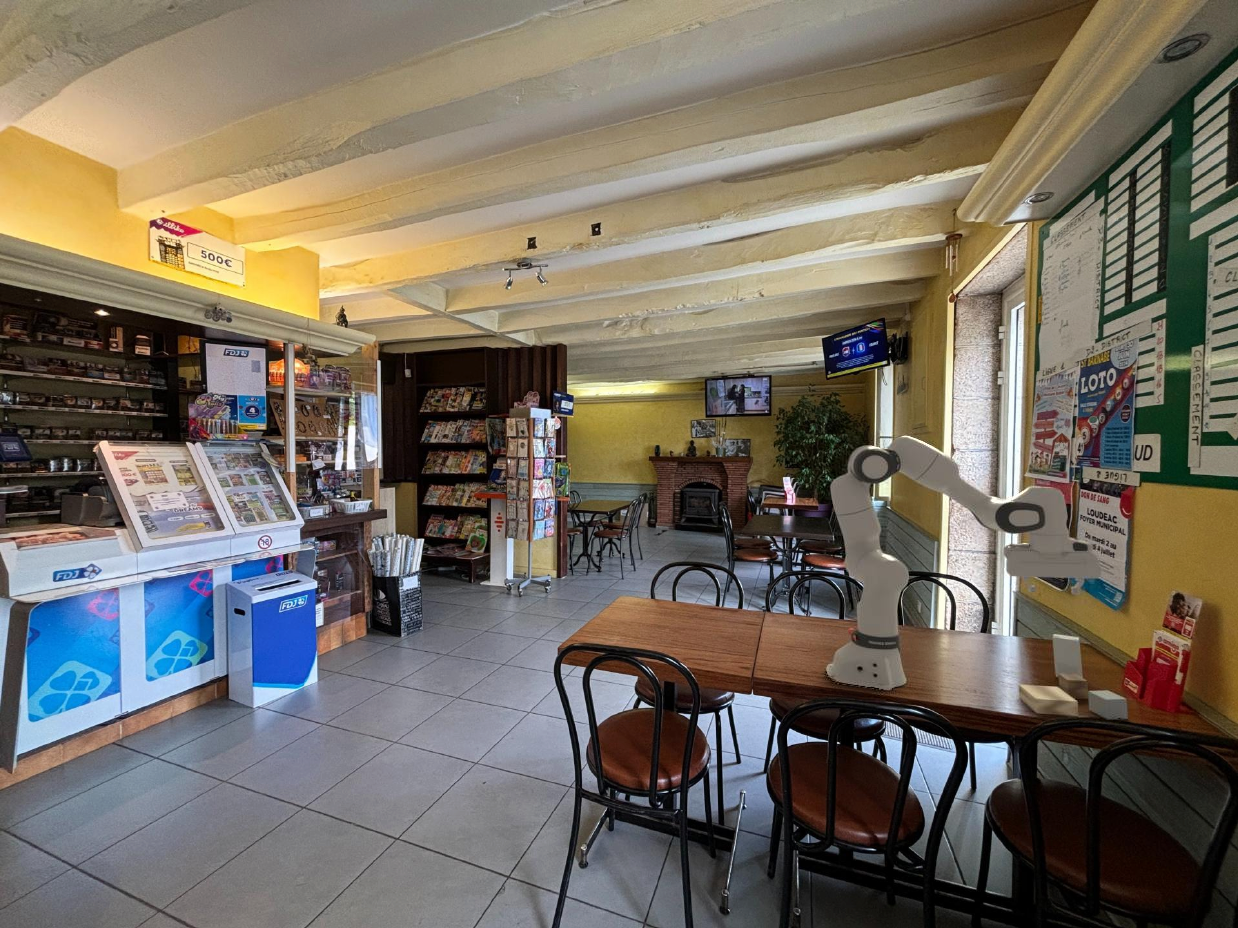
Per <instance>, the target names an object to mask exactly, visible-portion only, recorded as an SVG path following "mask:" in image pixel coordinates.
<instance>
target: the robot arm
mask: <svg viewBox="0 0 1238 928" xmlns="http://www.w3.org/2000/svg"><path fill="white" fill-rule="evenodd" d="M845 467H846V468H845V471H844V473H845V474H843V475H840V476H838V477H836V478H834V480H832V482H831V484H830V495H831V500H832V504H833V509H834V512H835V515H836V518H837V521H838V524H839V527H840V531H841V534H842V537H843V541H844V548H845V549H844V551H845V558H844V567H845V569H846V572H847V573H848V574H849V575H850V576H851V577H852V578H853V579H854V580H856V581H858V582H859V583H862V586H863V588H862V594H861V598H860V601H858V602H857V605H856V614H857V615H856V617H857V628H856V629H854V628H852V627H848V629H847V633H848V635H849V636H850V639H851V641H849V642H848V643H846V644H845V645H844V646H842V647H840V648H839V649H837V650H836V651H835V653H834V656H833V661H832V663H828V665H826V667H825V668H826V669H825V672H826V671H827V674H828V675H829V676H830V677H831V676H834V677H831V678H833V679H835V680H836V681H839V682H842V683H848V684H853V685H859V686H858V687H860V686H865V687H864V688H867V687H875V688H879V689H878V690H881V689H883V690H882V691H891V690H892V688H893V689H894V688H895V687H901V686H903V685H906V683H907V678H906V675H905V672H904V668H903V664H902V660H901V648H902V647H901V645H902V644H901V636H900V633H899V627H898V605H899V600H900V596H901V592H902V591H903V590H904V589H905V587H906V586H907V585H908V583H909V579H910V575H909V573H910V572H909V570H908V567H907V566H906V565H905V563H903V562H902V561H901V560H899V559H898V558H896V557H895V556H893V555H890V554H887V553H884V552H883V550H882V549H881V544H880V534H881V532H882V527H881V523H880V521H879V518H878V515H877V512H876V511H877V510H876V509H875V505H874V502H873V500H872V498H871V493H870V488H871V485H876V484H881V483H884V482H886V481H887V480H888V479H889V478H891V477H893V476H894V475H895V474H897V473H898V472H899V473H900V474H902V475H904V476H907V477H908V478H909V479H911V480H912V481H913V482H916V483H917V484H919V485H921V486H923V487H925V488H927V489H930V490H932V491H933V492H936V493H937V492H938V493H941V494H943V495H946V496H947V497H949V498H951V500H953V501H955V502H956V503H958V504H959V505H961V506H962V507H964V508H965V509H967V510H968V511H969V512H970V513H971V514H972V515H973V517H974V518H975V519H976V521H977V522H978V523H979V525H980V526H982V527H984V528H986V529H987V530H991V531H999V532H1002V533H1005V534H1011V535H1018V534H1022V533H1027V537H1028V543H1009V544H1007V545H1005V546H1004V548H1003V556H1004V557H1005V559H1006V562H1005V563H1006V564H1005V567H1006V570H1005V571H1006V573H1007V574H1008V575H1009V576H1011V577H1018V578H1019V577H1021V578H1022V580H1023V582H1025V584H1026V585H1027V590H1028V593H1032V594H1033V593H1037V588H1036V587H1037V586H1035V585H1034V584H1030V582H1029V581H1030V580H1031V578H1062V579H1063V578H1065V579H1067V578H1068V579H1075V581H1076V584H1074V586H1070V589H1071V590H1070V591H1071V594H1072V595H1080V594H1081V588H1082V586H1083V585H1084V583H1085V579H1099V578H1101V576H1102V569H1101V565H1100V561H1099V558H1098V556H1097V555H1096V554H1095V553H1094V552H1093V551H1094V545H1092V543H1090V542H1088V541H1086V540H1082V539H1078V538H1076V537H1070V532H1069V529H1068V527H1067V526H1068V525H1067V522H1068V521H1067V520H1068V512H1067V511H1068V510H1067V505H1066V504H1067V503H1066V499H1065V497H1064V494H1063V492H1062V490H1060V489H1058V488H1055V487H1048V486H1040V485H1030V486H1027V488H1025V489H1024V490H1022V491H1021V492H1020V493H1018V494H1016V495H1014V496H1011V497H1008V498H1003V497H999V496H993V495H989V494H985V493H984V492H982V491H980V490H979V489H977V488H976V487H974V486H973V485H971V484H969V482H967V481H965V480H964V479H963V478H961V476H960V468H959V465H958V463H957V462H955V461H954V460H953V459H952V458H951V457H950V456H948V455H947V454H946V453H945V452H943V451H941V450H939V449H938V448H936V447H934V446H933V445H930V444H928V443H926V442H925V441H922V440H920V439H917V438H914V437H911V436H910V435H909V436H908V435H902V436H900V437H897V438H895V439H894V440H893V441H892V442H891V443H890V444H889V446H886V447H885V448H882V447H879V446H875V445H869V444H865V445H864V444H863V445H860V446H858V447H856V448H855V449H853V450H852V451H851V453H850V454H849V456H848V459H847V464H846V466H845ZM827 674H826V675H827ZM853 685H852V686H853Z"/></svg>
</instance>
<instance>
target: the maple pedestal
mask: <svg viewBox="0 0 1238 928" xmlns="http://www.w3.org/2000/svg"><path fill="white" fill-rule="evenodd" d="M1018 695H1019V696H1018V698H1019V699H1020V700H1021V701H1022V702H1023V703H1025V705H1026V706H1028V707H1029V708H1030V709H1031V710H1032V711H1034V712H1035V713H1036V714H1043V715H1045V714H1046V715H1055V716H1056V715H1058V716H1072V717H1079V704H1078V703H1079V702H1078V700H1076V698H1072V697H1071V696H1069V695H1068V694H1067V693H1065V692H1064V691H1062V690H1061V689H1060V688H1059V686H1048V685H1034V684H1033V685H1032V684H1018Z"/></svg>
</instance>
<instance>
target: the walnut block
mask: <svg viewBox="0 0 1238 928" xmlns="http://www.w3.org/2000/svg"><path fill="white" fill-rule="evenodd" d="M1082 677H1083V676H1082ZM1082 677H1081V676H1079V675H1077V674H1060V673H1058V677H1057V678H1058V688H1060V689H1061V690H1062V691H1064V692H1065V693H1067V694H1068V695H1069V696H1071V697H1072V698H1073V699H1075V700H1076V699H1080V700H1089V697H1088V691H1089V688H1088V686H1089V685H1088V680H1087V679H1085V678H1084V677H1083V678H1082Z"/></svg>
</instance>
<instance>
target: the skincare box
mask: <svg viewBox="0 0 1238 928" xmlns="http://www.w3.org/2000/svg"><path fill="white" fill-rule="evenodd" d="M1052 647H1053V648H1052V649H1053V658H1054V659H1053V660H1054V669H1055V670H1054V671H1055V672H1054V673H1055V678H1059V677H1058V673H1060V674H1077V675H1079V676H1081V677H1082V678H1084V677H1083V668H1082V667H1083V666H1082V655H1081V645H1080V637H1079V636H1071V635H1066V634H1065V635H1064V634H1058V633H1057V634H1056V633H1054V634H1053V635H1052Z"/></svg>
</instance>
